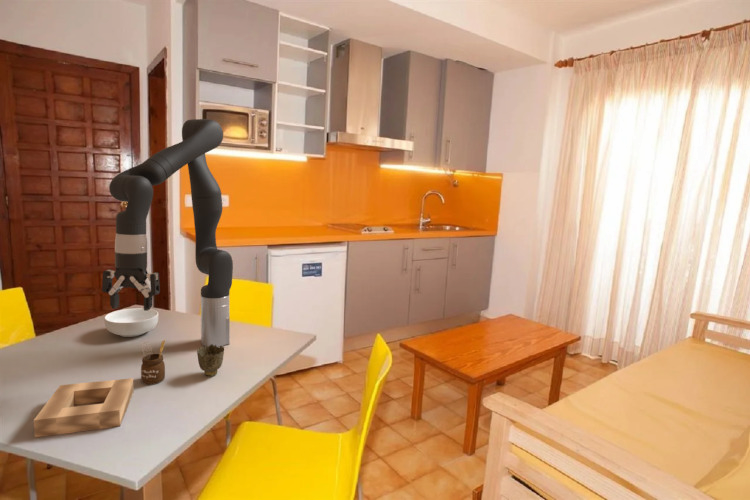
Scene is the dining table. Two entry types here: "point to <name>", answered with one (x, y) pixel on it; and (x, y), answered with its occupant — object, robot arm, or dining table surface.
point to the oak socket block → (84, 407)
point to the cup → (210, 359)
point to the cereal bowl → (131, 321)
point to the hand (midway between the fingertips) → (131, 309)
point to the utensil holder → (153, 367)
